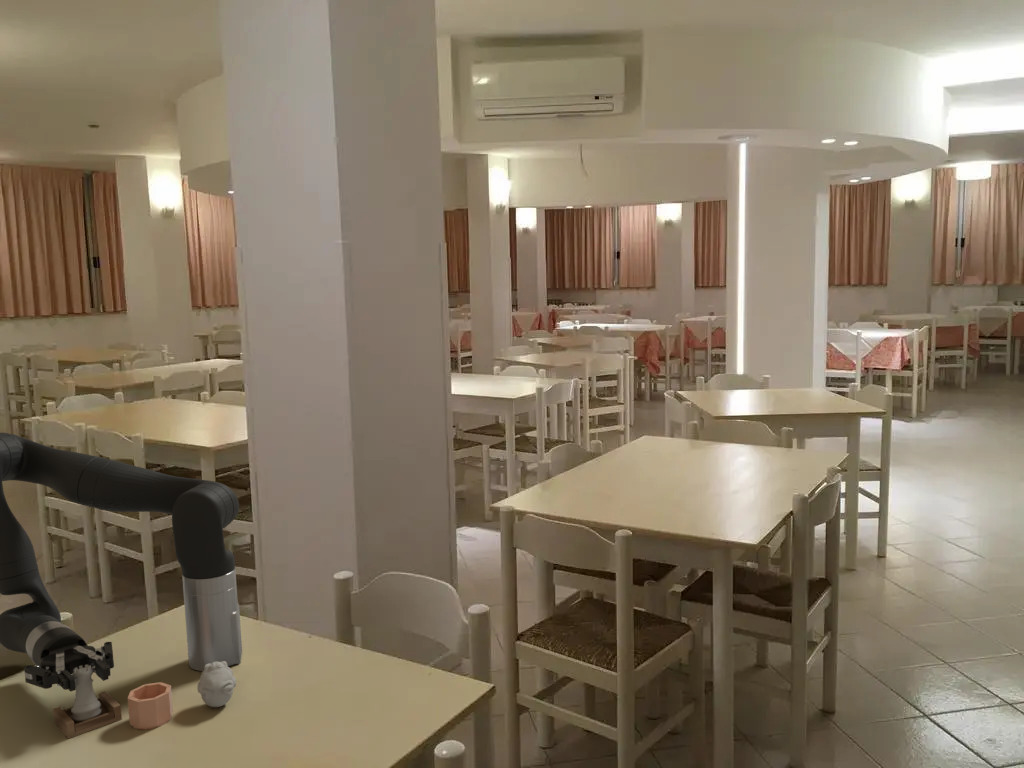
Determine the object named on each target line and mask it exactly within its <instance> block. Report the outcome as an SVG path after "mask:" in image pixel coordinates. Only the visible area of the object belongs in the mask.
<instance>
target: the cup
mask: <svg viewBox="0 0 1024 768" xmlns="http://www.w3.org/2000/svg"><path fill="white" fill-rule="evenodd" d="M127 705H128V706H127V708H128V717H129V718H128V719H129V725H130V726H131V727H132V726H133V727H132V728H133V729H136V730H151V729H156V728H159V727H161V726H163V725H165V724H167V723H168V722H170V721H171V719H172V718H173V712H174V706H173V694H172V685H171V684H168V683H164V682H160V681H158V682H154V683H144V684H143V685H140V686H138V687H136V688H134V689H132V690H130V691H129V694H128V696H127Z"/></svg>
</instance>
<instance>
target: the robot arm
mask: <svg viewBox="0 0 1024 768" xmlns="http://www.w3.org/2000/svg"><path fill="white" fill-rule="evenodd" d="M6 481H17V482H24V483H25V482H26V483H32V484H37V485H42V486H45V487H48V488H50V489H52V490H53V491H55V492H57V494H59V495H61V496H62V497H64V499H66V500H68V501H70V502H72V503H74V504H78V505H81V506H85V507H89V508H94V509H98V510H101V511H108V512H119V513H121V512H122V513H123V512H124V513H141V512H145V513H148V512H149V513H150V512H153V513H165V514H169V515H171V524H172V525H171V526H172V535H173V543H174V549H175V550H174V552H175V557H176V560H177V562H178V564H179V565H180V567H181V575H182V577H181V578H182V592H183V601H184V614H185V615H184V616H185V628H186V631H185V632H186V642H187V644H186V645H187V657H188V665H189V667H190V668H191V669H193V670H195V671H200V672H203V671H204V666H205V665H206V664H209V663H210V664H211V663H213V662H216V661H218V662H222V661H226V663H227V666H228V667H231V666H233V665H237V664H241V661H242V660H241V659H242V654H243V653H242V652H243V644H242V642H243V641H242V629H241V614H240V613H241V612H240V603H239V601H238V588H237V587H238V586H237V576H236V575H237V573H236V562H235V559H236V558H235V555H234V553H233V552H232V551H231V550H228V549H226V545H225V540H224V539H225V538H224V532H223V531H224V530H223V529H225V528H226V527H228V525H230V524H231V523H232V522H233V521H234V520H235V518H237V516H238V513H239V510H240V501H239V499H238V496H237V494H236V493H235V491H233V490H232V489H231V487H229V486H227V485H226V484H224V483H222V482H218V481H214V480H208V479H207V480H206V479H201V478H200V479H198V478H190V477H183V476H176V475H171V474H166V473H163V472H159V471H157V470H152V469H148V468H145V467H141V466H136V465H133V464H129V463H125V462H122V461H117V460H114V459H109V458H106V457H102V456H97V455H91V454H86V453H83V452H82V453H81V452H77V451H69V450H66V449H65V450H63V449H58V448H54V447H50V446H47V445H44V444H43V443H38V442H36V441H33V440H30V439H28V438H25V437H22V436H19V435H17V434H13V433H9V432H0V595H3V596H14V595H20V594H21V595H28V596H29V597H30V598H31V599H32V601H31V602H29V603H25V604H22V605H18V606H15V607H13V608H12V607H11V608H9V609H7V610H5V611H3V612H1V613H0V645H1V646H3V647H4V648H6V649H7V650H9V651H12V652H16V653H17V652H18V653H23V654H27V655H28V657H29V659H30V661H31V662H32V663H33V664H34V665H32V664H28V665H26V666H24V668H23V670H24V677H25V678H24V680H25V683H26V684H30V685H32V686H36V687H39V688H41V689H44V690H49V689H50V688H52V687H53V685H57V687H61V688H62V689H63V690H64V691H70V692H74V691H76V687H75V679H74V676H72V674H73V672H74V671H73V669H74V668H76V667H77V668H78V669H79V666H81V665H82V667H83V668H85V665H88V666H89V665H91V669H92V670H94V672H93V674H95V675H96V676H97V677H98V678H99V679H101V680H102V681H103V682H104V681H106V680H109V677H110V676H111V669H113V668H114V667H115V662H114V651H113V649H114V648H113V641H106V642H104V643H103V645H102V646H101V647H97V648H95V646H92V645H88V644H87V642H86V641H85V639H84V638H83V637H82V636H80V634H78V633H77V632H76V631H74V630H73V629H72V628H71V627H69V626H68V625H66V624H64V623H62V616H61V612H60V611H59V608H58V607H57V605H56V603H55V601H54V600H53V598H52V597H51V595H50V594H49V592H48V590H47V588H46V586H45V585H44V582H43V579H42V577H41V574H40V570H39V567H38V561H37V557H36V552H35V548H34V545H33V543H32V540H31V538H30V536H29V535H28V533H27V531H26V530H25V528H24V527H23V526H22V525H21V523H20V522H19V521H18V519H17V518H16V517H15V515H14V513H13V511H12V510H11V508H10V506H9V504H8V501H7V499H6V496H5V493H4V492H5V491H4V487H3V486H4V485H3V482H6Z"/></svg>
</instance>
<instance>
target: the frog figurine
mask: <svg viewBox="0 0 1024 768" xmlns="http://www.w3.org/2000/svg"><path fill="white" fill-rule="evenodd" d="M233 672H234V671H233V670H232V669H231V668H230V666H227V663H226V661H222V662H218V661H216V662H213V663H211V664H210V663H209V664H206V665H205V666H204V671H201V675H200V676H199V682H198V683H197V692H198V693H199V694H200V696H201V699H202V701H203V703H204V704H205V705H207V706H209V707H210V708H220V707H223V706H224V705H226V704H227V703H228V702H229V701H230V700H231V698H232V695H233V693H234V689H235V687H236V685H237V680H236V677H235V676H234V673H233Z"/></svg>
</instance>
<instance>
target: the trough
mask: <svg viewBox="0 0 1024 768" xmlns="http://www.w3.org/2000/svg"><path fill="white" fill-rule="evenodd" d="M97 700H98V701H99V702H100V703H101V706H100V707H99V708H101V709H102V711H101V713H100V714H99V716H97V717H95V718H92V719H89V720H86V721H82V722H77V721H74V720H73V719H72V718H71V716H72V715H73V713H72V712H71V709H72V708H73V706H71V707H69V708H66V709H63V708H61V706H57V707H54V708H52V714H53V723H54V725H56V727H58V729H59V730H60V731H61V732H62V733H63V735H64V736H66V738H67V739H71V738H74V737H77V736H80V735H82V734H85V733H88V732H91V731H93V730H95V729H99V728H102V727H105V726H107V725H110V724H113V723H115V722H118V721H121V720H122V718H123V717H122V706H121V704H120V703H119V702H118V701H117V700H115V698H113V697H112V696H111V695H110V694H109V693H108V692H106V691H102V692H98V697H97Z"/></svg>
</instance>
